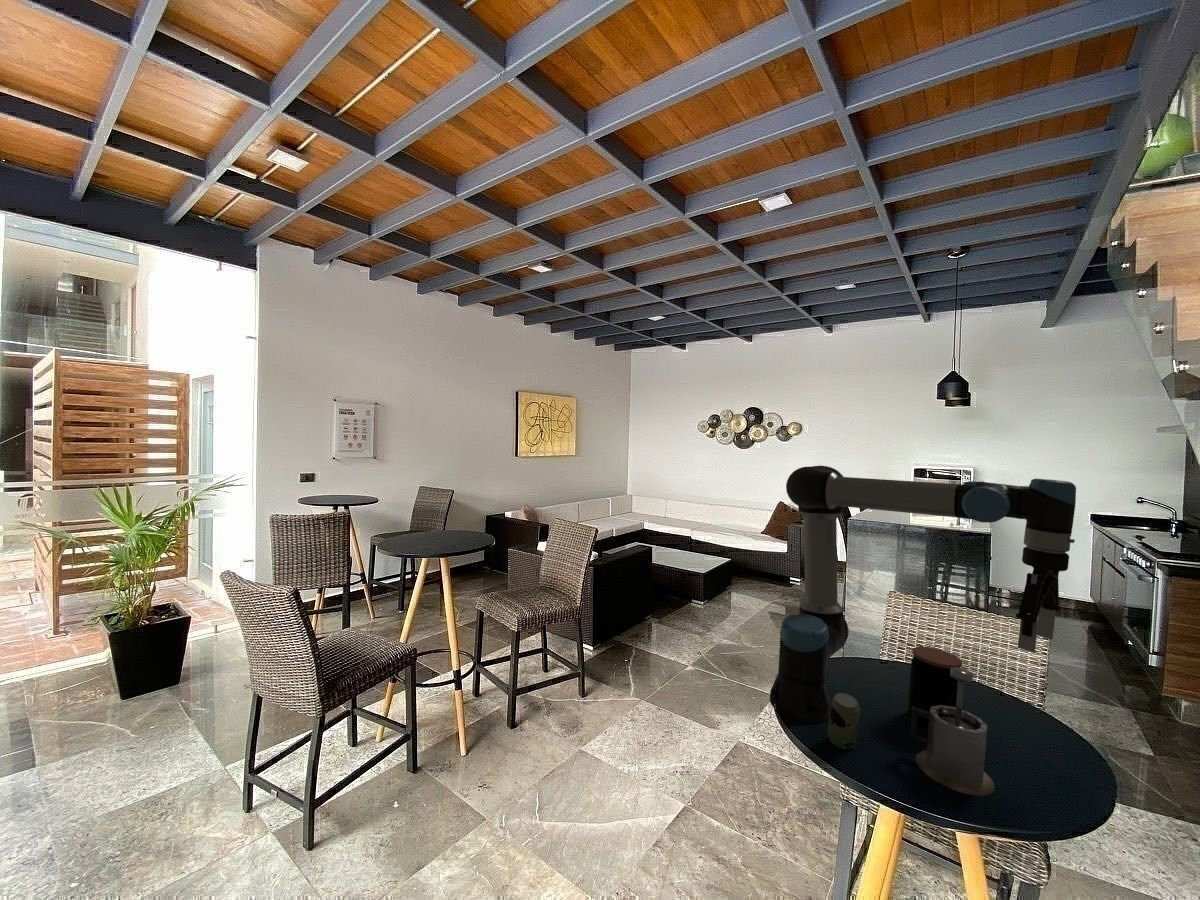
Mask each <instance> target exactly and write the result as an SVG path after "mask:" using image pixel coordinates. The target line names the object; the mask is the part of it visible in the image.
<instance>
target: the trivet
mask: <svg viewBox="0 0 1200 900" xmlns="http://www.w3.org/2000/svg"><path fill="white" fill-rule="evenodd" d="M926 754H927V750H923V751H920V752H918V753H917V754H916V756H915V762H916V764H917V766H918V767H919V769H920V770H921V771H922V772H923V773H924V774H925V775H927V776H928V777H929V778H930V779H932V780H933V781H935V782H937V783H938V784H940V785H942V786H944V787H946V788H948V789H950V790H953V791H955V792H958V793H959V792H960V793H962V794H966V795H971V796H976V797H978V796H979V797H980V796H981V797H983V796H989V795H991V794H992V793H993V794H994V792H995V783H994V781H993V780H992V778H991V777H990V776H989V775H988V773H986V772H985V771H984V774H983V786H982V787H979V788H975V789H971V788H965V787H959V786H957V785H954V784H952V783H949V782H947V781H944V780H943V779H941V778H940V777H939V776H937V775H936V774H934V773H933V772H932V771H931V770H930V769H929V767H928V766H927V765H926Z"/></svg>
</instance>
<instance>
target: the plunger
mask: <svg viewBox="0 0 1200 900" xmlns="http://www.w3.org/2000/svg"><path fill="white" fill-rule="evenodd" d="M950 676H951V677H952V678H954V679H956V680H958V687H957V700H956V713H955V718H953V717H941V718H940V719H942V720H944V721H946V722H947V723H949V724H951V725H954V726H957V727H960V728H963V729H970V730H976V729H975V728H974V727H973V726H972V725H970V724H968V723H967V722H965V721H962V720H961V710H963V709H962V708H963V707H962V706H963V696H964V695H963V694H964V683H973V681H974V674H973V671H970V670H968V669H966V668H963V667H960V668H959V667H951V668H950Z"/></svg>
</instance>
